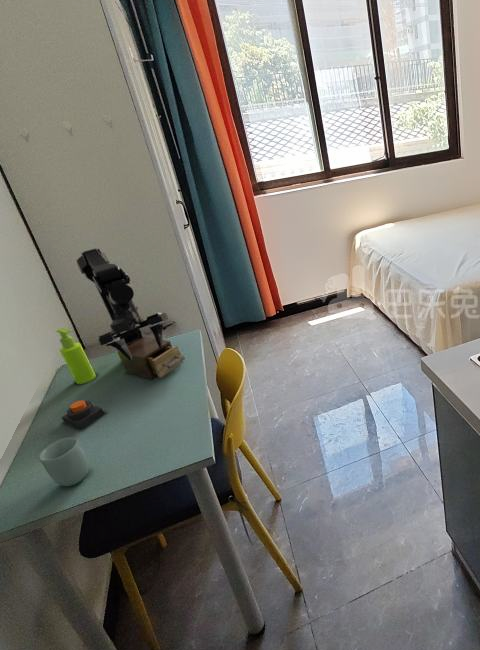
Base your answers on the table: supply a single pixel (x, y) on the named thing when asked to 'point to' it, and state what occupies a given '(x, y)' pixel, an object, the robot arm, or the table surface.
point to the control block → (83, 415)
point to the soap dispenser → (75, 358)
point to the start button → (78, 406)
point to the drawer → (165, 360)
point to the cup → (65, 461)
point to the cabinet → (141, 356)
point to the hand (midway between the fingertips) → (146, 353)
